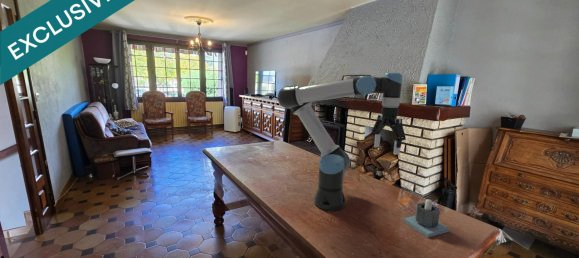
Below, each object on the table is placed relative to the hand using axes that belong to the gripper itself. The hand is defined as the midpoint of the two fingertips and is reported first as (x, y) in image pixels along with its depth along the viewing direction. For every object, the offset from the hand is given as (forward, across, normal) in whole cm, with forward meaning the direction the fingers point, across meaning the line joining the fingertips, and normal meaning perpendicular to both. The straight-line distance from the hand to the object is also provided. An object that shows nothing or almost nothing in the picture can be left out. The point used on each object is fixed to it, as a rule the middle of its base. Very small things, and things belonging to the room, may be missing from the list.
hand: (386, 150), depth 120 cm
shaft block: (+26, -24, -3) cm, 36 cm away
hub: (+24, -24, -3) cm, 34 cm away
